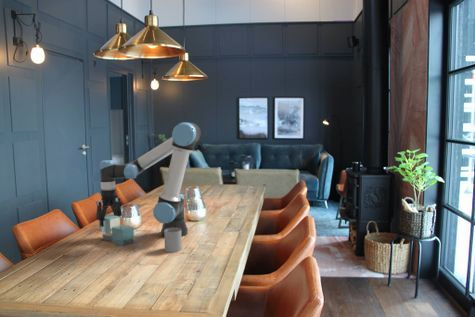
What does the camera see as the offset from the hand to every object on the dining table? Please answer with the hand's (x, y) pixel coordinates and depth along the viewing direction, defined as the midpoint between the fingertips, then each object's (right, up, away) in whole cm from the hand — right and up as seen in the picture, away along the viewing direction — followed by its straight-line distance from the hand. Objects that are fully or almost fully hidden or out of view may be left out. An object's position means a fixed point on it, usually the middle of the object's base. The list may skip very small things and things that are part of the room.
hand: (109, 230), depth 218 cm
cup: (+38, -6, -18) cm, 42 cm away
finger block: (0, 0, 0) cm, 0 cm away
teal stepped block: (+5, -5, -3) cm, 8 cm away
